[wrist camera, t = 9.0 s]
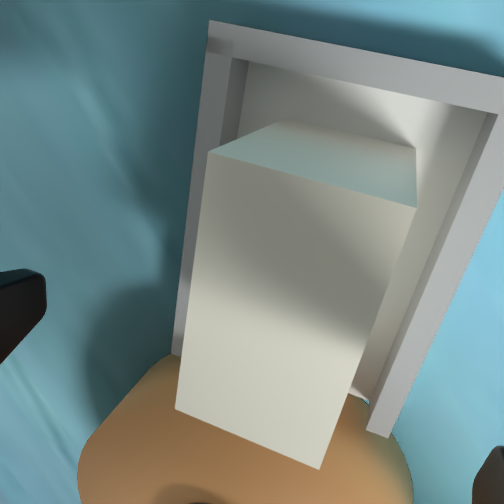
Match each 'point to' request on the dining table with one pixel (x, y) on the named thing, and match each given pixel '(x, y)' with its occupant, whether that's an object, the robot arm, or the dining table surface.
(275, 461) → the orange and grey base
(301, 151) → the cream rectangular block
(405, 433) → the dining table surface
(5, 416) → the dining table surface
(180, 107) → the dining table surface
